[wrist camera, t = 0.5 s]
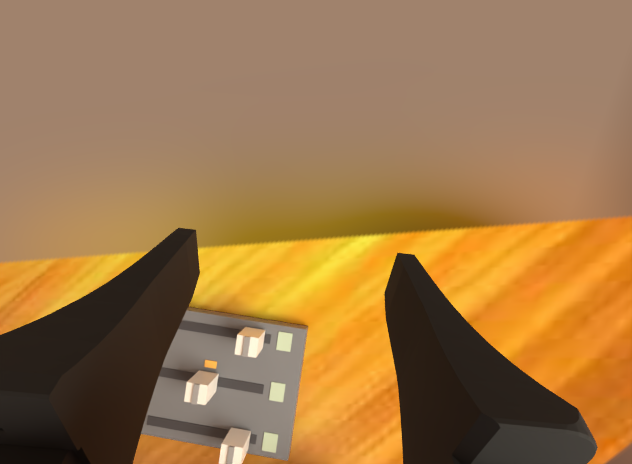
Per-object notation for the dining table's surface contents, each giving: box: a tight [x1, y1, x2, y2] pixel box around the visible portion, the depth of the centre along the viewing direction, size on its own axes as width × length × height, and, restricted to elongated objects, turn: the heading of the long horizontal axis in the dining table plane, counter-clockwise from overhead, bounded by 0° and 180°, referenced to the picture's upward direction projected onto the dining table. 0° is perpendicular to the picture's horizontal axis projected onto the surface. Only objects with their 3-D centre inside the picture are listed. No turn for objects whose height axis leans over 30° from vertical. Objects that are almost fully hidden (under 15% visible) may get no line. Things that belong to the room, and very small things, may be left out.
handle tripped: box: [184, 370, 219, 405], centre depth 36 cm, size 2×2×3 cm
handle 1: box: [219, 427, 251, 464], centre depth 36 cm, size 2×2×3 cm
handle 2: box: [235, 327, 265, 358], centre depth 36 cm, size 2×2×3 cm
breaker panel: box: [141, 307, 308, 461], centre depth 38 cm, size 13×20×2 cm, turn 82°
